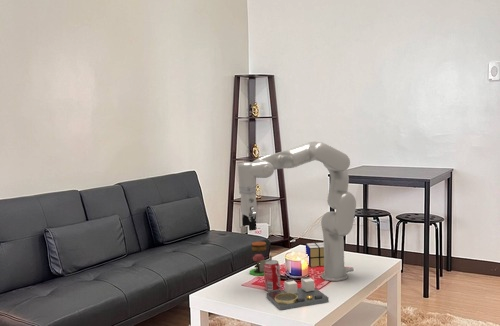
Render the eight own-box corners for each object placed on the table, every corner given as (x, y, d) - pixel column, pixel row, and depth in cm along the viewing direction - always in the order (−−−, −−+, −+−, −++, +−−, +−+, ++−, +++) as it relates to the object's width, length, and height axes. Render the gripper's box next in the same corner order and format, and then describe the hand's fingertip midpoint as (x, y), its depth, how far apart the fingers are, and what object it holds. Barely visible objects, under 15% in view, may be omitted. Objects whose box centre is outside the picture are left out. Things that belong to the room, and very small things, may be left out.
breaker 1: (293, 289, 240) (292, 279, 240) (297, 293, 236) (297, 282, 235) (284, 290, 239) (284, 280, 239) (288, 294, 234) (288, 283, 234)
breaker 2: (309, 286, 243) (309, 276, 242) (314, 290, 238) (314, 279, 238) (301, 288, 242) (301, 277, 241) (306, 291, 237) (305, 281, 236)
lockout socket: (292, 294, 235) (292, 291, 235) (301, 301, 226) (301, 298, 226) (271, 297, 232) (271, 294, 232) (279, 305, 223) (279, 302, 223)
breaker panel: (312, 290, 245) (312, 283, 245) (328, 302, 230) (328, 295, 230) (266, 297, 238) (266, 290, 238) (279, 310, 223) (279, 303, 223)
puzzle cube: (306, 262, 289) (305, 243, 287) (324, 260, 290) (324, 242, 288) (310, 267, 279) (309, 248, 278) (329, 266, 280) (328, 247, 279)
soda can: (279, 292, 244) (278, 264, 242) (263, 292, 245) (262, 264, 244) (281, 287, 251) (280, 259, 249) (266, 287, 252) (265, 259, 251)
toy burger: (244, 276, 269) (243, 246, 268) (252, 268, 281) (251, 239, 279) (267, 277, 266) (266, 247, 264) (274, 269, 277) (273, 240, 276)
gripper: (261, 192, 236) (263, 230, 238) (249, 186, 252) (251, 223, 254) (245, 193, 233) (247, 232, 235) (234, 188, 250) (235, 224, 252)
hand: (249, 227), depth 245 cm, fingers open, 9 cm apart
